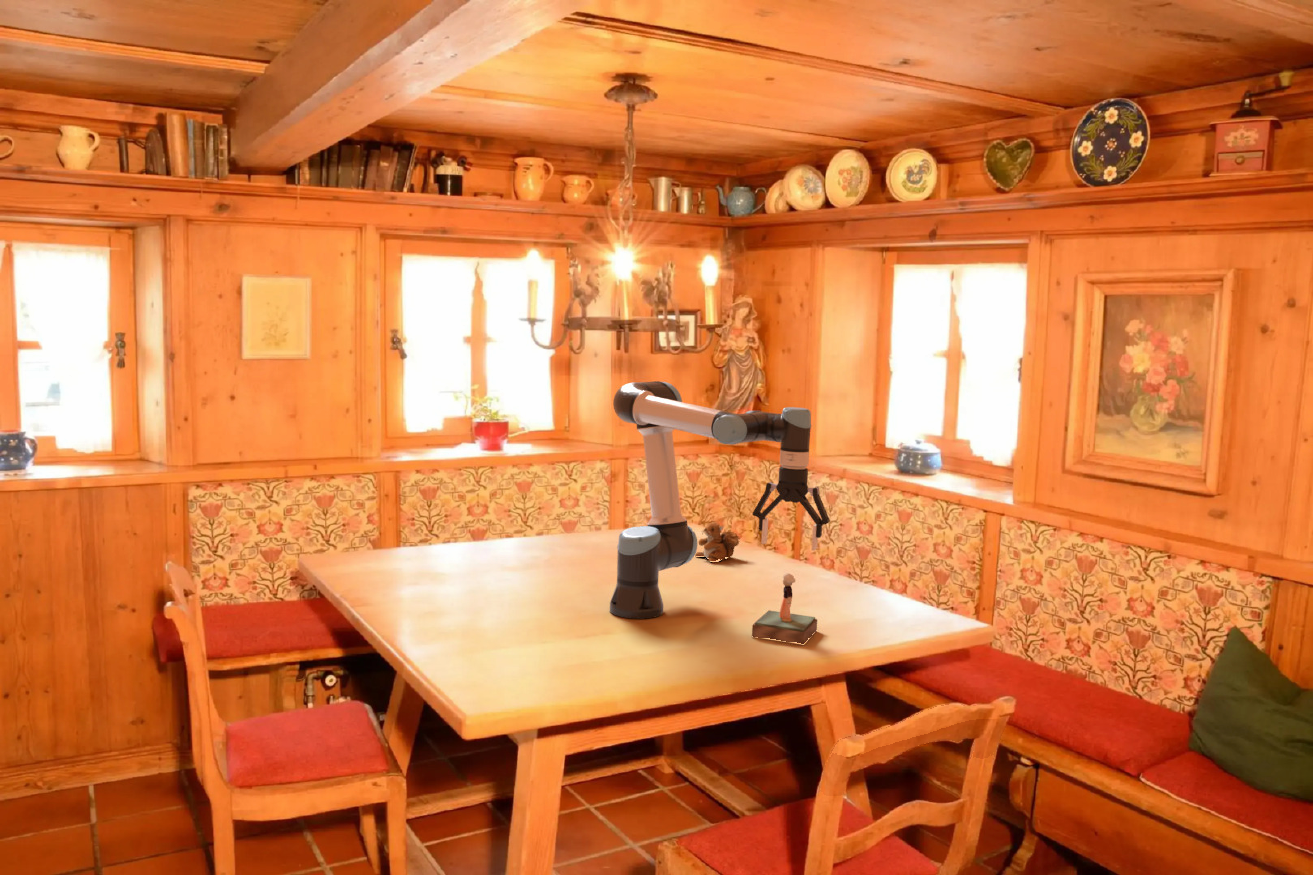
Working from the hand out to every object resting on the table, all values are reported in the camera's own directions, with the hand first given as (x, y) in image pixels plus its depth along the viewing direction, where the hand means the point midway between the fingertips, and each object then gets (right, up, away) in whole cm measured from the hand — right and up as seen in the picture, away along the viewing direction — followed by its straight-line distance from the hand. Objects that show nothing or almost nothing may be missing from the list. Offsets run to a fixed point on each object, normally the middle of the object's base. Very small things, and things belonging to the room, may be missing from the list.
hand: (789, 546), depth 276 cm
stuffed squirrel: (-14, -14, +87) cm, 89 cm away
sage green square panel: (-1, -24, +3) cm, 24 cm away
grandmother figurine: (-1, -20, +2) cm, 20 cm away
